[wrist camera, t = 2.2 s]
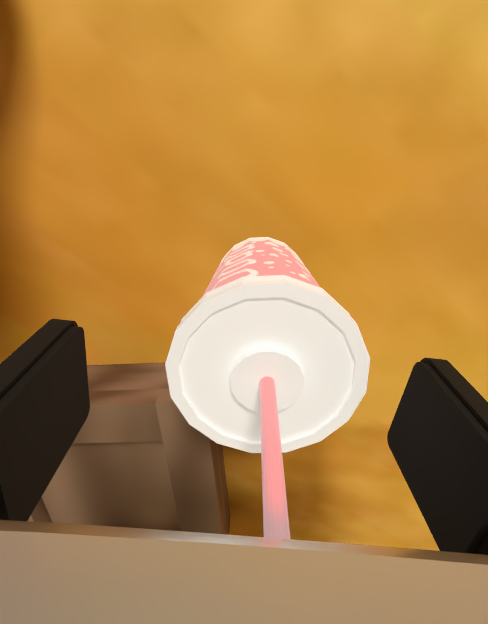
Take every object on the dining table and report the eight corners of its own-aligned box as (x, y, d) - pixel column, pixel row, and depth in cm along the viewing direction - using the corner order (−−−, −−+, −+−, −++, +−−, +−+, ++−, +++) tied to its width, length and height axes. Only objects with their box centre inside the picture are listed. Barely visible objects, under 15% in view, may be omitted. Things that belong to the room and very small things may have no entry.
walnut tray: (213, 357, 21) (204, 402, 17) (230, 512, 27) (226, 571, 23) (-10, 365, 22) (-65, 410, 18) (53, 515, 28) (21, 573, 24)
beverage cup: (307, 207, 17) (469, 370, 4) (326, 317, 20) (465, 629, 7) (188, 237, 18) (28, 451, 5) (220, 340, 20) (166, 657, 8)
